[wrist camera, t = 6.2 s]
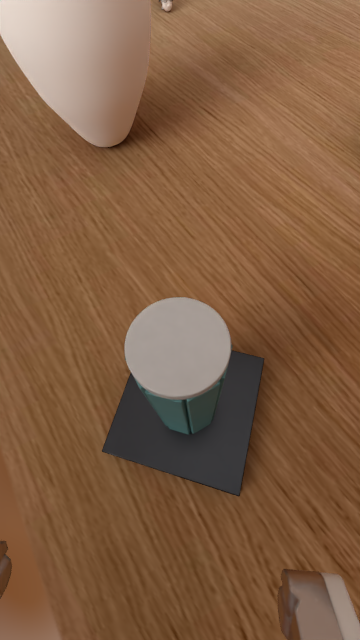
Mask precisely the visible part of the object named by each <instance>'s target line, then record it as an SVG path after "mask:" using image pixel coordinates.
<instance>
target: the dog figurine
mask: <svg viewBox="0 0 360 640" xmlns="http://www.w3.org/2000/svg"><path fill="white" fill-rule="evenodd" d="M160 1H161V2H162V10H163V9H164V10H165V11H170V10H171V8H172V1H173V0H164V1H163V0H159V2H160Z"/></svg>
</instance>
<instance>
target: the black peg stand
mask: <svg viewBox="0 0 360 640" xmlns="http://www.w3.org/2000/svg"><path fill="white" fill-rule="evenodd" d="M263 363H264V358H261V357H257V356H253V355H249V354H245V353H240V352H236V351H232V350H231V355H230V359H229V363H228V368H227V372H226V376H225V380H224V384H223V387H222V391H221V394H220V398H219V402H218V405H217V409H216V412H215V416H214V420H213V421H212V420H211V424H209V425H208V426H206V427H204V428H203V429H201V430H199V431H198V432H196V433H194V434H192V432H191V431H190V434H189V435H188V434H185V433H181V432H178V431H175V430H171V429H169V428H168V426H166V425H165V424H164V422H163V421H162V420H161V418H160V417H159V415H158V414H157V412H156V411H155V410H154V408H153V407H152V405H151V404H150V402H149V401H148V400H147V398H146V397H145V395H144V394H143V393H142V391H141V390H140V388H139V386H138V384H137V382H136V380H135V378H134V376H133V375H132V373H130V376H129V379H128V381H127V384H126V387H125V390H124V392H123V395H122V398H121V401H120V403H119V406H118V409H117V411H116V414H115V417H114V420H113V422H112V425H111V428H110V430H109V433H108V436H107V439H106V441H105V444H104V447H103V449H102V452H105V453H108V454H111V455H114V456H117V457H120V458H123V459H126V460H129V461H133V462H136V463H139V464H142V465H145V466H148V467H151V468H154V469H157V470H160V471H163V472H166V473H169V474H172V475H175V476H178V477H181V478H184V479H187V480H190V481H194V482H197V483H200V484H203V485H206V486H209V487H212V488H215V489H218V490H221V491H224V492H227V493H230V494H233V495H236V496H240V490H241V485H242V479H243V474H244V468H245V463H246V457H247V452H248V446H249V441H250V435H251V430H252V424H253V419H254V413H255V408H256V402H257V397H258V391H259V386H260V380H261V374H262V369H263Z"/></svg>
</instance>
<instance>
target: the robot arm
mask: <svg viewBox="0 0 360 640" xmlns="http://www.w3.org/2000/svg"><path fill="white" fill-rule="evenodd" d="M7 550H8V547H7V544H6V541H0V598H1V597H2V595H3V593H4V591H5V589H6V587H7V585H8V582H9V578H10V575H11V569H12V564H11V559H10V558H9V557H8V556H7V555H6V554H5V553H6V551H7ZM281 580H282V586H280V587H279V590H278V613H279V621H280V627H281V631H282V633H283V634H284V635H285V637H286V638H287V640H360V623H359V621H358V618H357V615H356V613H355V610H354V607H353V605H352V602H351V599H350V597H349V594H348V591H347V589H346V586H345V583H344V581H343V579H342V578H341V576H340V575H338V574H333V573H321V572H315V571H302V570H290V569H283V570H282V574H281Z"/></svg>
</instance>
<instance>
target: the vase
mask: <svg viewBox="0 0 360 640" xmlns="http://www.w3.org/2000/svg"><path fill="white" fill-rule="evenodd" d="M0 35H1V37H2V39H3V40H4V42H5V44H6V46H7V48H8V49H9V51H10V53H11V54H12V56H13V58H14V59H15V61H16V62H17V64H18V65H19V67H20V68H21V70H22V71H23V73H24V74H25V76H26V77H27V78H28V80H29V81H30V83H31V84H32V86H33V87H34V88H35V90H36V91H37V92H38V94H39V95H40V96H41V98H42V99H43V100H44V101H45V102H46V103H47V104H48V105H49V106H50V107H51V108H52V109H53V110H54V111H55V112H56V113H57V114H58V115H59V116H60V117H61V118H62V119H63V120H64V121H65V122H66V123H68V124H69V125H70V126H71V127H72V128H73V129H74V130H75V131H76V132H77V133H78V134H79V135H80V136H81V137H83V138H84V139H85V140H86V141H88V142H89V143H91V144H93V145H95V146H98V147H111V146H114V145H117V144H119V143H120V142H122V141H123V140H124V139H125V138H126V137H127V135H128V133H129V131H130V129H131V127H132V124H133V121H134V118H135V115H136V111H137V108H138V105H139V102H140V99H141V95H142V92H143V88H144V85H145V81H146V77H147V71H148V63H149V51H150V36H151V2H150V0H0Z"/></svg>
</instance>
